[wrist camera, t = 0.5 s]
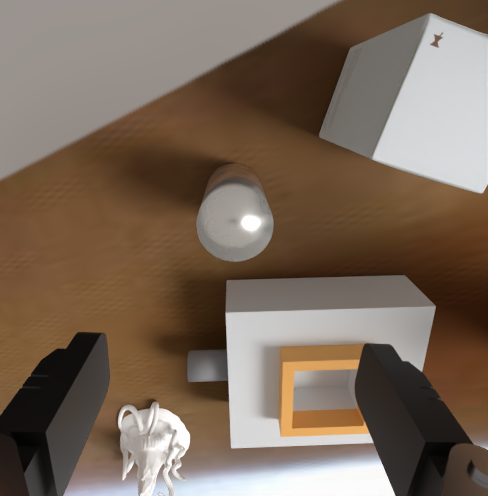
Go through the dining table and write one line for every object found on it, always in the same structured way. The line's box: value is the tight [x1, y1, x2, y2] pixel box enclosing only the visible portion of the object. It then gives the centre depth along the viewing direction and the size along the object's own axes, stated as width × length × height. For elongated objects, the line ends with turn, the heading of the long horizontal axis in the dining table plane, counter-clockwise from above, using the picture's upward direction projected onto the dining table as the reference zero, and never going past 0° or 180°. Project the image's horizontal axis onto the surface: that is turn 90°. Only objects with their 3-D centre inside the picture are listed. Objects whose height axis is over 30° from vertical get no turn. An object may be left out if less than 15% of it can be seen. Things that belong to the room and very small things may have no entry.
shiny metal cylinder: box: [196, 163, 273, 262], centre depth 28 cm, size 5×5×10 cm
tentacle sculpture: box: [118, 401, 190, 496], centre depth 40 cm, size 9×12×9 cm
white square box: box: [187, 275, 436, 448], centre depth 35 cm, size 22×16×8 cm
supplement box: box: [319, 13, 488, 193], centre depth 24 cm, size 7×7×13 cm
